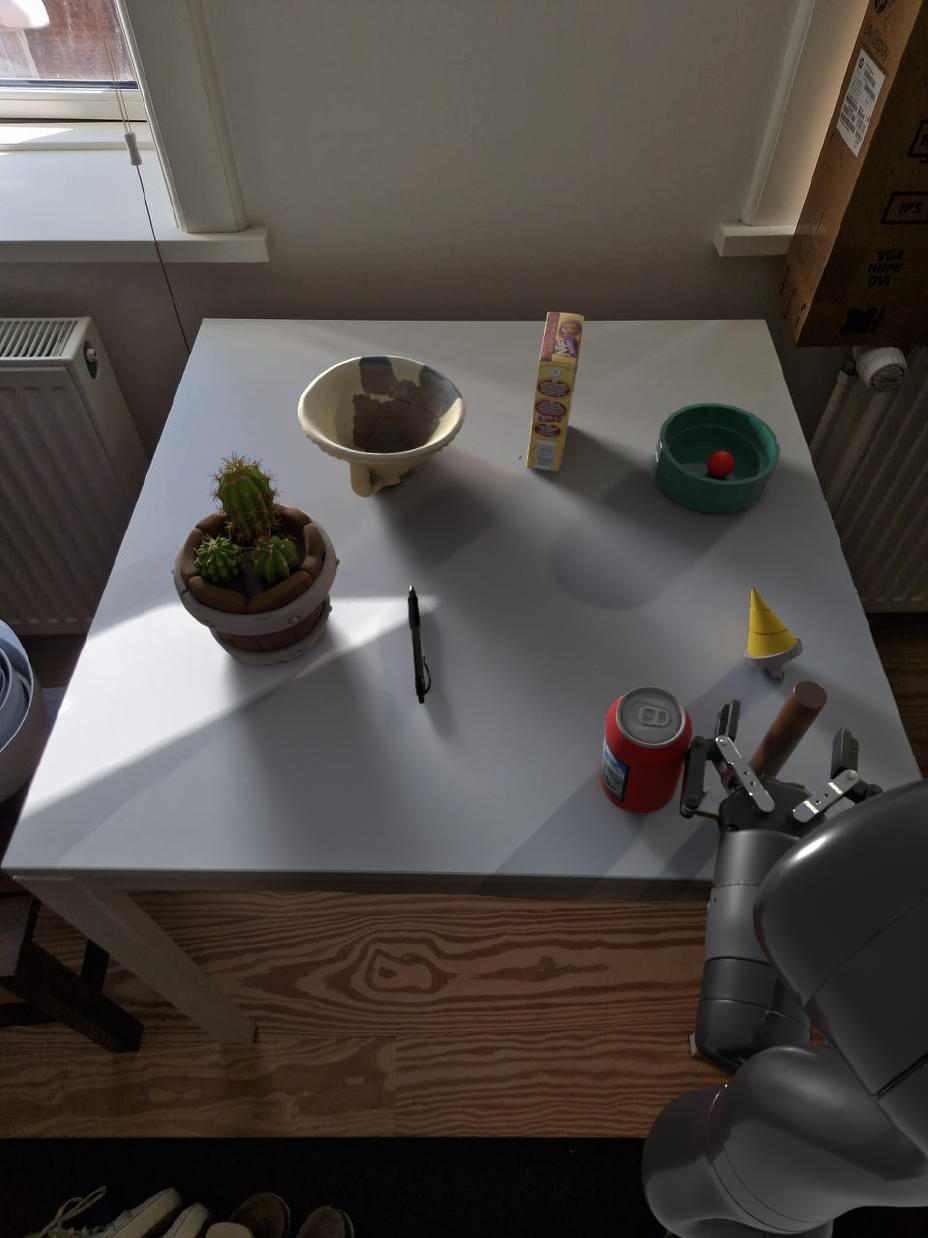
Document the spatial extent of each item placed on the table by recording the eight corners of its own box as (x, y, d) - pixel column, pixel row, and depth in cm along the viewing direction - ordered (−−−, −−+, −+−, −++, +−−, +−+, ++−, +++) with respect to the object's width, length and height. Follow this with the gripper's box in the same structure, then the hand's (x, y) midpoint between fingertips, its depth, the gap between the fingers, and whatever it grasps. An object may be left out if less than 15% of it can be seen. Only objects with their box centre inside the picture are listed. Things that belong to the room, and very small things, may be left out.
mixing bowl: (772, 448, 102) (785, 416, 98) (760, 527, 94) (773, 495, 90) (662, 426, 104) (670, 393, 100) (642, 501, 97) (650, 468, 93)
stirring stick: (762, 784, 76) (829, 685, 62) (759, 808, 75) (826, 712, 61) (735, 776, 77) (795, 676, 63) (731, 800, 75) (792, 702, 62)
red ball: (699, 469, 97) (709, 481, 99) (723, 470, 95) (733, 482, 97) (707, 445, 97) (717, 457, 100) (731, 446, 95) (741, 459, 98)
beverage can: (603, 743, 79) (612, 673, 69) (678, 754, 77) (697, 684, 68) (594, 811, 75) (602, 746, 65) (673, 824, 74) (693, 760, 64)
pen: (433, 705, 81) (433, 699, 80) (416, 706, 81) (415, 700, 80) (422, 589, 89) (422, 582, 88) (406, 590, 89) (405, 583, 88)
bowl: (432, 538, 93) (430, 475, 86) (285, 497, 97) (269, 433, 89) (485, 435, 103) (487, 370, 95) (349, 401, 107) (341, 335, 99)
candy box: (562, 474, 99) (576, 365, 87) (525, 469, 100) (534, 360, 87) (570, 423, 104) (585, 313, 92) (535, 418, 105) (545, 309, 92)
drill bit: (749, 697, 82) (717, 602, 80) (762, 675, 86) (733, 583, 84) (805, 690, 79) (774, 590, 77) (816, 667, 83) (787, 572, 81)
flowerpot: (340, 688, 82) (311, 552, 66) (182, 683, 82) (114, 547, 66) (357, 570, 91) (334, 425, 74) (213, 566, 91) (160, 421, 75)
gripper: (894, 930, 55) (899, 719, 64) (674, 863, 57) (709, 670, 66) (851, 960, 61) (861, 764, 70) (654, 899, 64) (688, 717, 73)
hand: (787, 718), depth 68 cm, fingers open, 8 cm apart
